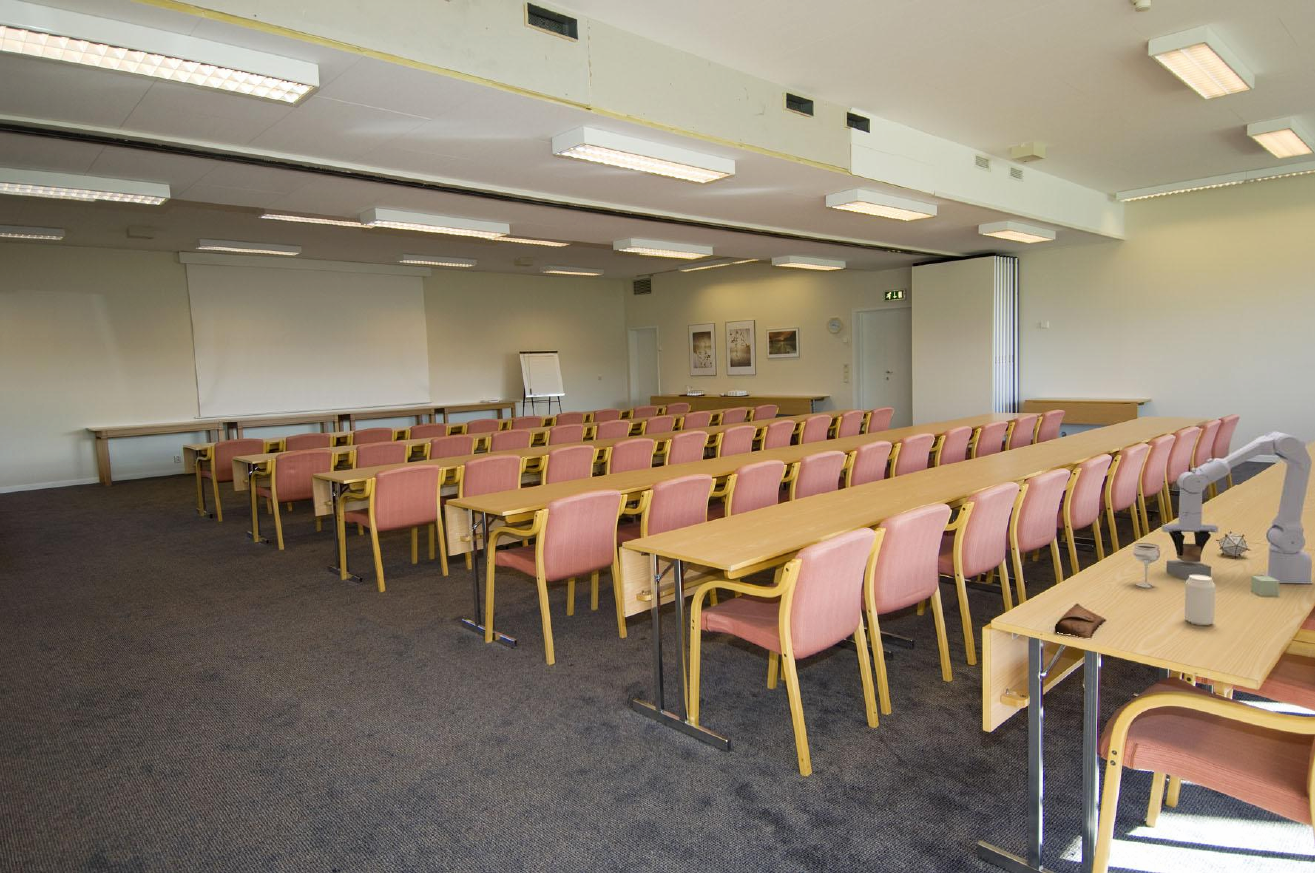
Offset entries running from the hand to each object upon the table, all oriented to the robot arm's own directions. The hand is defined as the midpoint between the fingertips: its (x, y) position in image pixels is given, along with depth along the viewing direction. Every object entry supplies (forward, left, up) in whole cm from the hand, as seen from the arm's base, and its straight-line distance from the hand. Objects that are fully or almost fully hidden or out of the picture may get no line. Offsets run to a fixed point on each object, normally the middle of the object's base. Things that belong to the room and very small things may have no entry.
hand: (1188, 555), depth 232 cm
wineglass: (+16, +11, -7) cm, 21 cm away
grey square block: (0, 0, -7) cm, 7 cm away
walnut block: (0, 0, -1) cm, 1 cm away
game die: (-23, -23, -7) cm, 33 cm away
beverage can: (+16, +43, -7) cm, 46 cm away
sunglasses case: (+45, +48, -7) cm, 67 cm away
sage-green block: (-12, +17, -6) cm, 22 cm away
